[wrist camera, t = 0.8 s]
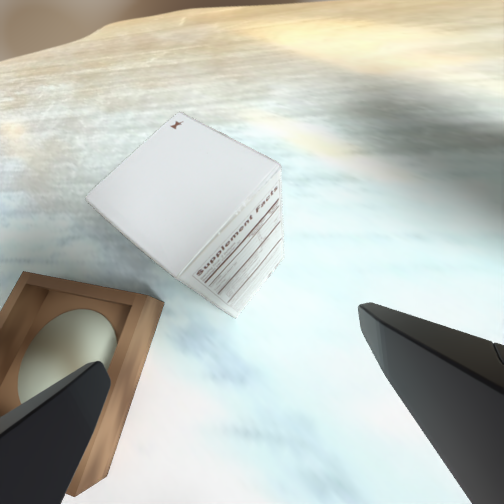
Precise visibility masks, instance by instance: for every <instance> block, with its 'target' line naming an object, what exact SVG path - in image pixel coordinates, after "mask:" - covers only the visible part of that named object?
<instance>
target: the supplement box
mask: <svg viewBox="0 0 504 504" xmlns="http://www.w3.org/2000/svg"><path fill="white" fill-rule="evenodd" d="M85 200H86V201H87V202H88V203H89V204H90V205H91V206H92V207H93V208H94V209H95V210H96V211H97V212H98V213H99V214H101V215H102V216H103V217H104V218H105V219H106V220H107V221H108V222H109V223H110V224H112V225H113V226H114V227H115V228H116V229H117V230H118V231H119V232H120V233H122V234H123V235H124V236H125V237H126V238H127V239H128V240H129V241H131V242H132V243H133V244H134V245H135V246H136V247H138V248H139V249H140V250H141V251H142V252H143V253H145V254H146V255H147V256H148V257H149V258H150V259H152V260H153V261H154V262H155V263H157V264H158V265H159V266H160V267H161V268H163V269H164V270H165V271H166V272H168V273H169V274H170V275H171V276H173V277H174V278H176V279H177V280H179V281H180V282H182V283H183V284H185V285H186V286H187V287H189V288H190V289H192V290H193V291H195V292H196V293H198V294H199V295H201V296H202V297H203V298H205V299H206V300H208V301H209V302H210V303H212V304H213V305H215V306H216V307H218V308H219V309H221V310H223V311H224V312H226V313H227V314H229V315H230V316H232V317H233V318H235V319H236V318H237V317H238V316H239V314H240V313H241V312H242V311H243V309H244V308H245V307H246V305H247V304H248V303H249V302H250V300H251V299H252V298H253V297H254V295H255V294H256V293H257V292H258V290H259V289H260V288H261V287H262V285H263V284H264V283H265V282H266V280H267V279H268V278H269V277H270V275H271V274H272V273H273V271H274V270H275V269H276V268H277V266H278V265H279V264H280V263H281V261H282V260H283V259H284V231H283V210H282V187H281V165H280V164H279V163H278V162H277V161H276V160H273V159H271V158H270V157H268V156H266V155H264V154H262V153H259V152H257V151H256V150H254V149H252V148H250V147H248V146H246V145H244V144H242V143H240V142H238V141H236V140H234V139H232V138H231V137H229V136H227V135H226V134H224V133H222V132H219V131H217V130H215V129H213V128H211V127H209V126H207V125H205V124H203V123H201V122H200V121H198V120H196V119H194V118H192V117H190V116H188V115H186V114H185V113H183V112H178V113H177V114H176V115H174V116H173V117H172V118H171V119H169V120H168V121H167V122H166V123H165V124H163V125H162V126H161V127H160V128H159V129H158V130H157V131H156V132H154V133H153V134H152V135H151V136H150V137H149V138H148V139H147V140H146V141H145V142H144V143H142V144H141V145H140V146H139V147H138V148H137V149H136V150H135V151H134V152H133V153H132V154H131V155H129V156H128V157H127V158H126V159H125V160H124V161H123V162H122V163H121V164H119V165H118V166H117V167H116V168H115V169H114V170H113V171H112V172H111V173H110V174H109V175H108V176H106V177H105V178H104V179H103V180H102V181H101V182H99V183H98V184H97V185H96V186H95V187H94V188H93V189H92V190H91V191H90V192H89V193H88V194H87V195H86V196H85Z"/></svg>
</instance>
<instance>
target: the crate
mask: <svg viewBox="0 0 504 504" xmlns="http://www.w3.org/2000/svg"><path fill="white" fill-rule="evenodd" d="M163 306H164V302H162V301H160V300H157V299H155V298H153V297H151V296H148V295H144V294H139V293H134V292H128V291H123V290H118V289H113V288H108V287H102V286H97V285H92V284H87V283H82V282H76V281H71V280H66V279H61V278H56V277H50V276H45V275H40V274H35V273H30V272H24V271H23V272H22V274H21V276H20V278H19V279H18V281H17V283H16V285H15V287H14V288H13V290H12V292H11V294H10V295H9V297H8V299H7V301H6V303H5V304H4V306H3V308H2V310H1V311H0V417H2V416H3V415H5V414H7V413H8V412H10V411H11V410H13V409H15V408H16V407H18V406H19V405H21V404H23V403H24V402H26V401H27V400H29V399H31V398H32V397H34V396H35V395H37V394H39V393H40V392H42V391H43V390H45V389H47V388H48V387H50V386H51V385H53V384H55V383H56V382H58V381H60V380H61V379H63V378H64V377H66V376H68V375H69V374H71V373H72V372H74V371H76V370H77V369H79V368H80V367H82V366H84V365H85V364H87V363H90V362H95V361H101V362H102V363H103V365H104V367H105V369H106V371H107V373H108V375H109V377H110V379H111V386H110V389H109V392H108V395H107V398H106V400H105V403H104V406H103V408H102V411H101V414H100V417H99V419H98V422H97V425H96V427H95V430H94V432H93V435H92V437H91V439H90V442H89V444H88V446H87V448H86V450H85V452H84V455H83V457H82V459H81V461H80V463H79V465H78V468H77V470H76V472H75V474H74V476H73V478H72V481H71V483H70V485H69V487H68V489H67V491H66V494H68V495H71V496H73V497H76V496H77V495H79V494H80V493H82V492H83V491H85V490H87V489H88V488H90V487H91V486H93V485H94V484H96V483H97V482H99V481H101V480H102V479H104V478H105V477H107V474H108V471H109V468H110V465H111V462H112V459H113V456H114V453H115V450H116V447H117V444H118V441H119V438H120V435H121V432H122V429H123V426H124V423H125V420H126V417H127V414H128V411H129V408H130V405H131V402H132V399H133V396H134V393H135V390H136V387H137V384H138V381H139V378H140V375H141V372H142V369H143V366H144V363H145V360H146V357H147V354H148V351H149V348H150V345H151V342H152V339H153V336H154V333H155V330H156V327H157V324H158V321H159V318H160V315H161V312H162V309H163Z"/></svg>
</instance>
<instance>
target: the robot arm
mask: <svg viewBox="0 0 504 504" xmlns="http://www.w3.org/2000/svg"><path fill="white" fill-rule="evenodd" d="M358 313H359V320H360V327H361V331H362V333H363V335H364V337H365V339H366V341H367V343H368V345H369V347H370V348H371V350H372V352H373V354H374V356H375V358H376V360H377V362H378V363H379V365H380V367H381V369H382V371H383V373H384V374H385V376H386V378H387V379H388V381H389V382H390V384H391V385H392V387H393V388H394V390H395V391H396V393H397V394H398V396H399V397H400V398H401V400H402V401H403V403H404V404H405V406H406V407H407V409H408V410H409V412H410V413H411V415H412V416H413V418H414V419H415V421H416V422H417V423H418V425H419V426H420V428H421V429H422V431H423V432H424V434H425V435H426V437H427V438H428V440H429V441H430V443H431V444H432V446H433V447H434V448H435V450H436V451H437V453H438V454H439V456H440V457H441V459H442V460H443V462H444V463H445V465H446V466H447V468H448V469H449V471H450V472H451V473H452V475H453V476H454V478H455V479H456V481H457V482H458V484H459V485H460V487H461V488H462V490H463V491H464V493H465V494H466V496H467V497H468V498H469V500H470V501H471V503H472V504H504V345H501V344H498V343H492V342H491V341H489V340H486V339H483V338H480V337H477V336H474V335H470V334H467V333H464V332H461V331H458V330H455V329H452V328H449V327H446V326H443V325H440V324H436V323H433V322H430V321H427V320H424V319H421V318H418V317H415V316H412V315H409V314H406V313H403V312H399V311H396V310H393V309H390V308H387V307H384V306H381V305H378V304H375V303H371V302H369V303H365V304H360V305H359V306H358ZM110 386H111V379H110V377H109V375H108V373H107V371H106V369H105V367H104V365H103V363H102V362H101V361H95V362H90V363H87V364H85V365H84V366H82V367H80V368H79V369H77V370H76V371H74V372H72V373H71V374H69V375H68V376H66V377H64V378H63V379H61V380H60V381H58V382H56V383H55V384H53V385H51V386H50V387H48V388H47V389H45V390H43V391H42V392H40V393H39V394H37V395H35V396H34V397H32V398H31V399H29V400H27V401H26V402H24V403H23V404H21V405H19V406H18V407H16V408H15V409H13V410H11V411H10V412H8V413H7V414H5V415H3V416H2V417H0V504H61V502H62V500H63V498H64V496H65V493H66V491H67V489H68V487H69V485H70V483H71V481H72V478H73V476H74V474H75V472H76V470H77V468H78V465H79V463H80V461H81V459H82V457H83V455H84V452H85V450H86V448H87V446H88V444H89V442H90V439H91V437H92V435H93V432H94V430H95V427H96V425H97V422H98V419H99V417H100V414H101V411H102V408H103V406H104V403H105V400H106V398H107V395H108V392H109V389H110Z"/></svg>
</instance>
